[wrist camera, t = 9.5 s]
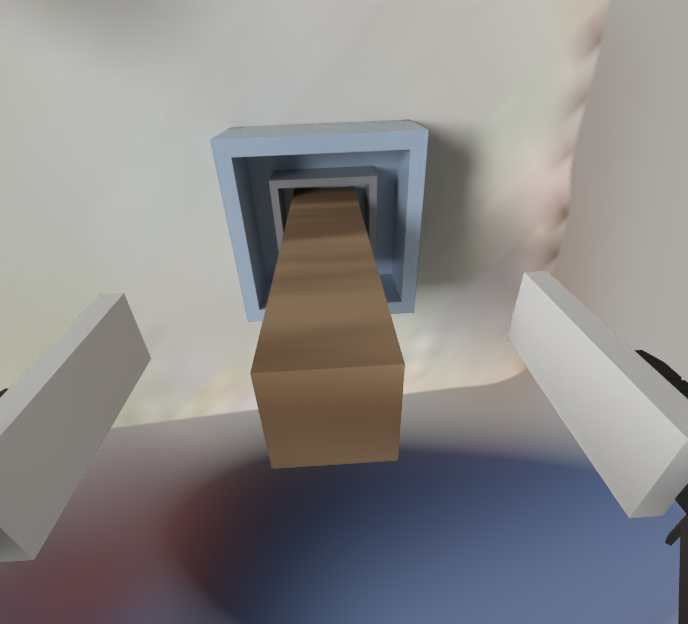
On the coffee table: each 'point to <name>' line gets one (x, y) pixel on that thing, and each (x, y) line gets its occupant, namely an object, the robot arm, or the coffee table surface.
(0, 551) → the robot arm
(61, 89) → the coffee table surface
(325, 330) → the long wooden beam
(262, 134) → the light blue square bin
